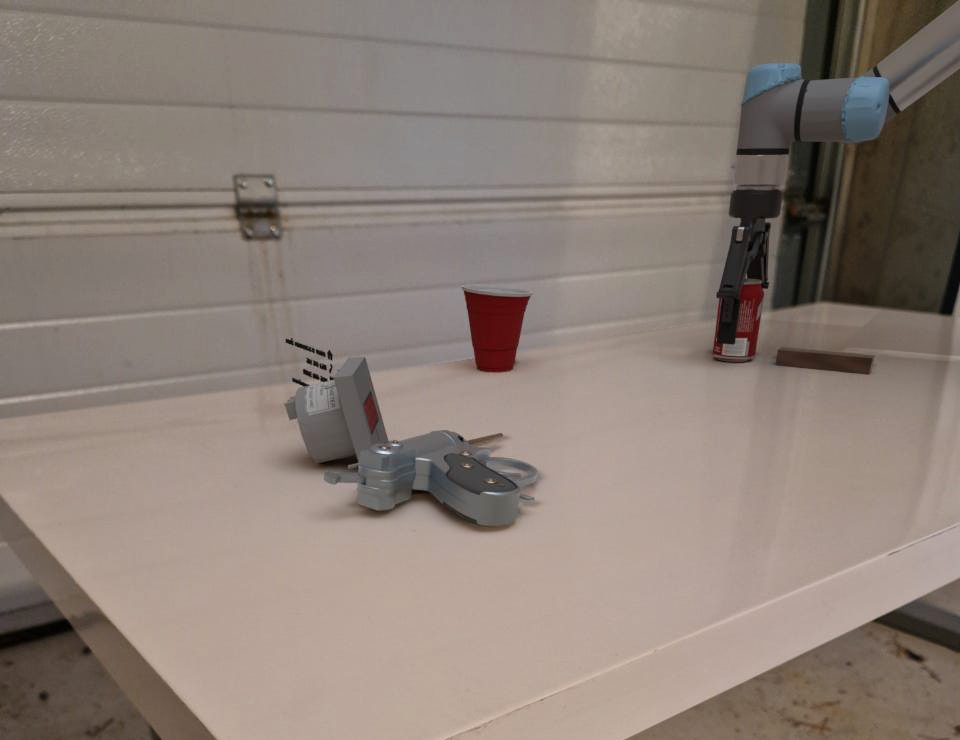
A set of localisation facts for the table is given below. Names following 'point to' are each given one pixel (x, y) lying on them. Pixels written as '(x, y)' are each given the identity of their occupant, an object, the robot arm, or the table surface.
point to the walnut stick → (825, 360)
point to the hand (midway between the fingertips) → (737, 337)
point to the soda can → (743, 325)
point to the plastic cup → (495, 323)
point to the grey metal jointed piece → (441, 476)
